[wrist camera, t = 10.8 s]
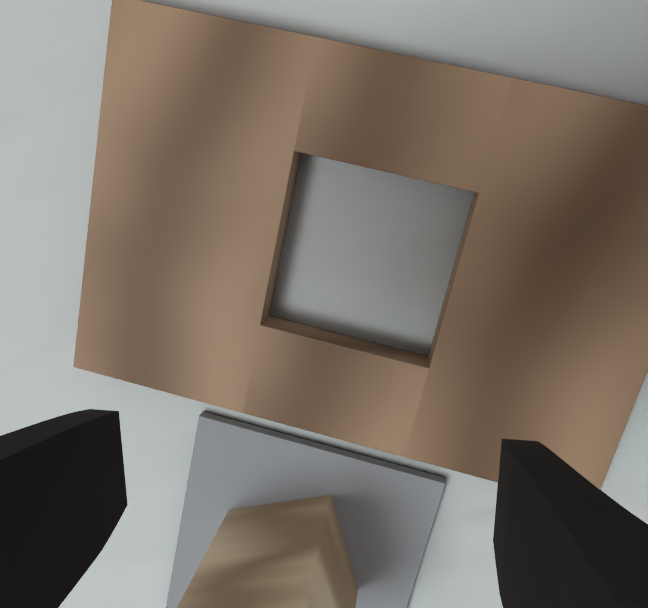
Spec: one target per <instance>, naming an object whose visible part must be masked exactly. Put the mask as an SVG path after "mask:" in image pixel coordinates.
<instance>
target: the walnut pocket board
mask: <svg viewBox="0 0 648 608" xmlns="http://www.w3.org/2000/svg"><path fill="white" fill-rule="evenodd" d="M301 153H306V154H310V155H315V156H319V157H323V158H328V159H332V160H337V161H341V162H345V163H350V164H354V165H359V166H363V167H367V168H372V169H376V170H381V171H385V172H389V173H394V174H398V175H403V176H407V177H411V178H416V179H420V180H425V181H429V182H433V183H438V184H442V185H447V186H451V187H455V188H460V189H464V190H469V191H473V192H475V193H474V196H473V200H472V204H471V207H470V211H469V214H468V218H467V221H466V225H465V228H464V232H463V235H462V239H461V242H460V246H459V249H458V253H457V257H456V260H455V264H454V267H453V271H452V274H451V278H450V281H449V285H448V288H447V292H446V295H445V299H444V302H443V306H442V310H441V313H440V317H439V320H438V324H437V327H436V331H435V334H434V338H433V341H432V345H431V348H430V352H429V355H428V356H425V355H421V354H417V353H413V352H409V351H405V350H401V349H397V348H393V347H390V346H386V345H382V344H378V343H374V342H370V341H366V340H362V339H358V338H354V337H350V336H346V335H343V334H339V333H335V332H331V331H327V330H323V329H319V328H315V327H311V326H307V325H303V324H299V323H296V322H292V321H288V320H284V319H280V318H276V317H272V316H269V312H270V307H271V302H272V297H273V292H274V287H275V282H276V277H277V272H278V267H279V262H280V257H281V252H282V247H283V241H284V236H285V231H286V226H287V221H288V216H289V211H290V206H291V201H292V196H293V191H294V186H295V181H296V176H297V171H298V166H299V161H300V156H301ZM74 367H76V368H80V369H83V370H87V371H91V372H94V373H98V374H102V375H105V376H109V377H113V378H116V379H120V380H124V381H128V382H131V383H135V384H139V385H142V386H146V387H150V388H153V389H157V390H161V391H164V392H168V393H172V394H175V395H179V396H183V397H186V398H190V399H194V400H197V401H201V402H205V403H208V404H212V405H216V406H219V407H223V408H227V409H230V410H234V411H238V412H241V413H245V414H249V415H252V416H256V417H260V418H263V419H267V420H271V421H274V422H278V423H282V424H285V425H289V426H293V427H296V428H300V429H304V430H307V431H311V432H315V433H318V434H322V435H326V436H329V437H333V438H337V439H340V440H344V441H348V442H352V443H355V444H359V445H363V446H366V447H370V448H374V449H377V450H381V451H385V452H388V453H392V454H396V455H399V456H403V457H407V458H410V459H414V460H418V461H421V462H425V463H429V464H432V465H436V466H440V467H443V468H447V469H451V470H454V471H458V472H462V473H465V474H469V475H473V476H476V477H480V478H484V479H487V480H491V481H495V482H498V478H499V466H500V454H501V441H502V439H515V440H529V441H539V442H540V443H542V444H543V445H545V446H546V447H547V448H549V449H550V450H551V451H552V452H554V453H555V454H556V455H557V456H559V457H560V458H561V459H562V460H564V461H565V462H566V463H567V464H568V465H570V466H571V467H572V468H573V469H575V470H576V471H577V472H578V473H580V474H581V475H582V476H583V477H585V478H586V479H587V480H588V481H590V482H591V483H592V484H593V485H595V486H596V487H597V488H598V489H601V487H602V484H603V482H604V479H605V477H606V474H607V472H608V469H609V467H610V464H611V462H612V459H613V457H614V454H615V452H616V449H617V446H618V444H619V441H620V439H621V436H622V434H623V431H624V429H625V426H626V424H627V421H628V419H629V416H630V414H631V411H632V409H633V406H634V404H635V401H636V399H637V396H638V393H639V391H640V388H641V386H642V383H643V381H644V378H645V376H646V373H647V371H648V106H646V105H641V104H636V103H632V102H627V101H622V100H617V99H612V98H608V97H603V96H598V95H593V94H588V93H583V92H579V91H574V90H569V89H564V88H559V87H555V86H550V85H545V84H540V83H535V82H530V81H526V80H521V79H516V78H511V77H506V76H502V75H497V74H492V73H487V72H482V71H478V70H473V69H468V68H463V67H458V66H453V65H449V64H444V63H439V62H434V61H429V60H425V59H420V58H415V57H410V56H405V55H401V54H396V53H391V52H386V51H381V50H376V49H372V48H367V47H362V46H357V45H352V44H348V43H343V42H338V41H333V40H328V39H324V38H319V37H314V36H309V35H304V34H299V33H295V32H290V31H285V30H280V29H275V28H271V27H266V26H261V25H256V24H251V23H247V22H242V21H237V20H232V19H227V18H222V17H218V16H213V15H208V14H203V13H198V12H194V11H189V10H184V9H179V8H174V7H170V6H165V5H160V4H155V3H150V2H145V1H141V0H112V6H111V16H110V25H109V35H108V44H107V54H106V63H105V73H104V82H103V92H102V101H101V111H100V120H99V130H98V139H97V149H96V158H95V168H94V177H93V187H92V196H91V206H90V215H89V225H88V234H87V244H86V253H85V263H84V272H83V282H82V291H81V301H80V310H79V320H78V329H77V339H76V348H75V358H74Z"/></svg>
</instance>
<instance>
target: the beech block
mask: <svg viewBox="0 0 648 608" xmlns="http://www.w3.org/2000/svg"><path fill="white" fill-rule="evenodd" d="M357 593H358V587H357V584H356V580H355V577H354V573H353V570H352V566H351V562H350V559H349V555H348V552H347V548H346V545H345V541H344V538H343V534H342V530H341V527H340V523H339V520H338V516H337V513H336V509H335V506H334V502H333V498H332V495H324V496H318V497H311V498H304V499H298V500H291V501H285V502H278V503H271V504H265V505H258V506H251V507H245V508H238V509H232V510H228V512H227V514H226V516H225V518H224V520H223V522H222V523H221V525H220V527H219V529H218V531H217V533H216V535H215V537H214V538H213V540H212V542H211V544H210V546H209V548H208V550H207V552H206V554H205V555H204V557H203V559H202V561H201V563H200V565H199V567H198V569H197V570H196V572H195V574H194V576H193V578H192V580H191V582H190V584H189V586H188V587H187V589H186V591H185V593H184V595H183V597H182V599H181V601H180V602H179V604H178V606H177V608H356V601H357Z"/></svg>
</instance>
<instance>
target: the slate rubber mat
mask: <svg viewBox="0 0 648 608" xmlns="http://www.w3.org/2000/svg"><path fill="white" fill-rule="evenodd" d="M444 486H445V478H444V477H441V476H437V475H433V474H430V473H426V472H422V471H419V470H415V469H412V468H408V467H404V466H401V465H397V464H393V463H390V462H386V461H382V460H379V459H375V458H371V457H368V456H364V455H360V454H357V453H353V452H349V451H346V450H342V449H338V448H335V447H331V446H328V445H324V444H320V443H317V442H313V441H309V440H306V439H302V438H298V437H295V436H291V435H287V434H284V433H280V432H276V431H273V430H269V429H265V428H262V427H258V426H255V425H251V424H247V423H244V422H240V421H236V420H233V419H229V418H225V417H222V416H218V415H214V414H211V413H207V412H202V413H201V415H200V416H199V420H198V426H197V432H196V438H195V443H194V449H193V455H192V461H191V467H190V472H189V478H188V484H187V490H186V495H185V501H184V507H183V513H182V519H181V524H180V530H179V536H178V542H177V547H176V553H175V559H174V565H173V571H172V576H171V582H170V588H169V594H168V599H167V605H166V608H177V606H178V604H179V602H180V601H181V599H182V597H183V595H184V593H185V591H186V589H187V587H188V586H189V584H190V582H191V580H192V578H193V576H194V574H195V572H196V570H197V569H198V567H199V565H200V563H201V561H202V559H203V557H204V555H205V554H206V552H207V550H208V548H209V546H210V544H211V542H212V540H213V538H214V537H215V535H216V533H217V531H218V529H219V527H220V525H221V523H222V522H223V520H224V518H225V516H226V514H227V512H228V510H232V509H238V508H245V507H251V506H258V505H265V504H271V503H278V502H285V501H291V500H298V499H304V498H311V497H318V496H324V495H332V498H333V502H334V506H335V509H336V513H337V516H338V520H339V523H340V527H341V530H342V534H343V538H344V541H345V545H346V548H347V552H348V555H349V559H350V562H351V566H352V570H353V573H354V577H355V580H356V584H357V587H358V593H357V601H356V608H407V605H408V602H409V599H410V595H411V592H412V589H413V586H414V583H415V579H416V576H417V573H418V570H419V567H420V563H421V560H422V557H423V554H424V550H425V547H426V544H427V541H428V538H429V534H430V531H431V528H432V525H433V522H434V518H435V515H436V512H437V509H438V506H439V502H440V499H441V496H442V493H443V489H444Z"/></svg>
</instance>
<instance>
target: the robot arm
mask: <svg viewBox="0 0 648 608" xmlns="http://www.w3.org/2000/svg"><path fill="white" fill-rule="evenodd" d="M126 507H127V496H126V485H125V475H124V464H123V453H122V442H121V432H120V421H119V411H107V410H93V409H89V410H83V411H78V412H74V413H70V414H66V415H63V416H59V417H56V418H53V419H50V420H46V421H43V422H40V423H37V424H34V425H31V426H28V427H25V428H22V429H20V430H17V431H14V432H11V433H8V434H5V435H2V436H0V608H58V607H59V606H60V604H61V603H62V602H63V601H64V599H65V598H66V597H67V595H68V594H69V593H70V592H71V590H72V589H73V588H74V586H75V585H76V584H77V582H78V581H79V580H80V579H81V577H82V576H83V575H84V573H85V572H86V571H87V569H88V568H89V567H90V565H91V564H92V563H93V561H94V560H95V559H96V557H97V556H98V555H99V553H100V552H101V551H102V549H103V547H104V546H105V544H106V542H107V541H108V539H109V537H110V536H111V534H112V532H113V530H114V529H115V527H116V525H117V523H118V521H119V519H120V518H121V516H122V514H123V512H124V510H125V508H126ZM493 542H494V551H495V560H496V568H497V576H498V584H499V591H500V596H501V601H502V605H503V608H648V524H646V523H645V522H643V521H642V520H640V519H639V518H637V517H636V516H635V515H633V514H632V513H630V512H629V511H628V510H626V509H625V508H624V507H622V506H621V505H619V504H618V503H617V502H615V501H614V500H613V499H611V498H610V497H609V496H607V495H606V494H605V493H604V492H602V491H601V490H600V489H598V488H597V487H596V486H595V485H593V484H592V483H591V482H590V481H588V480H587V479H586V478H585V477H583V476H582V475H581V474H580V473H578V472H577V471H576V470H575V469H573V468H572V467H571V466H570V465H568V464H567V463H566V462H565V461H564V460H562V459H561V458H560V457H559V456H557V455H556V454H555V453H554V452H552V451H551V450H550V449H549V448H547V447H546V446H545V445H543V444H542V443H540V442H539V441H529V440H515V439H502V441H501V454H500V466H499V478H498V490H497V502H496V514H495V526H494V538H493Z"/></svg>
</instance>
